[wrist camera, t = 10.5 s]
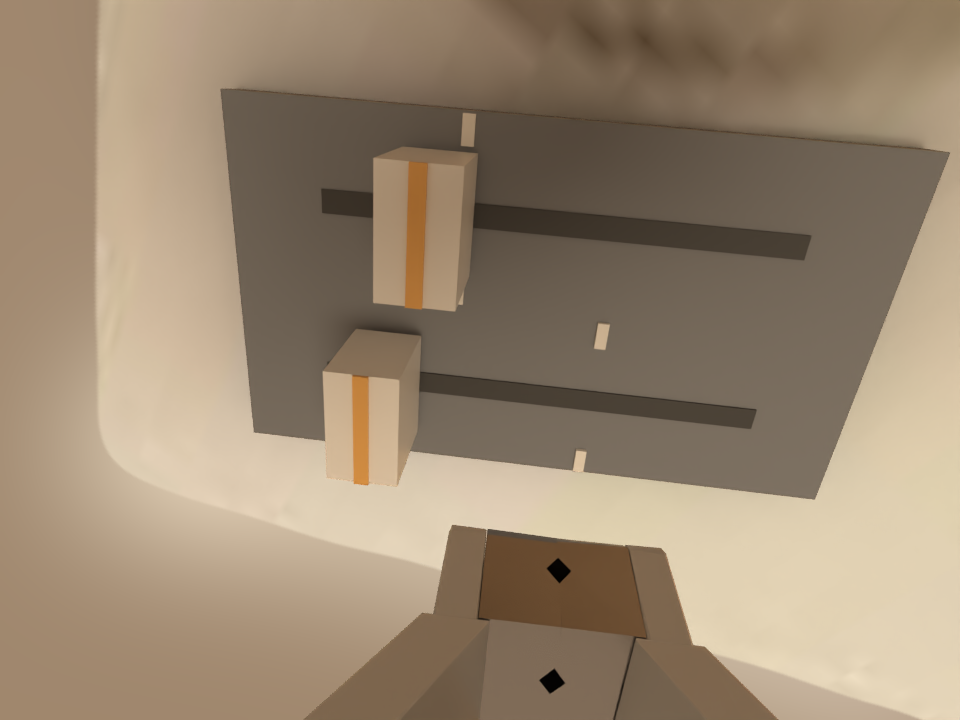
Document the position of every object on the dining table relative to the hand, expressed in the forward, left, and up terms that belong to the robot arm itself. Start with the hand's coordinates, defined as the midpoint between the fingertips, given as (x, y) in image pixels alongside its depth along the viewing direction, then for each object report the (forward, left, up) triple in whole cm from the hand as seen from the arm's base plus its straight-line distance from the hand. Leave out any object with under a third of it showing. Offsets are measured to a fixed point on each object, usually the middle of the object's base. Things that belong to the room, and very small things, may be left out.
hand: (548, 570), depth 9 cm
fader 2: (+5, -1, -18) cm, 18 cm away
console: (0, +3, -20) cm, 20 cm away
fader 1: (+7, +7, -18) cm, 20 cm away
